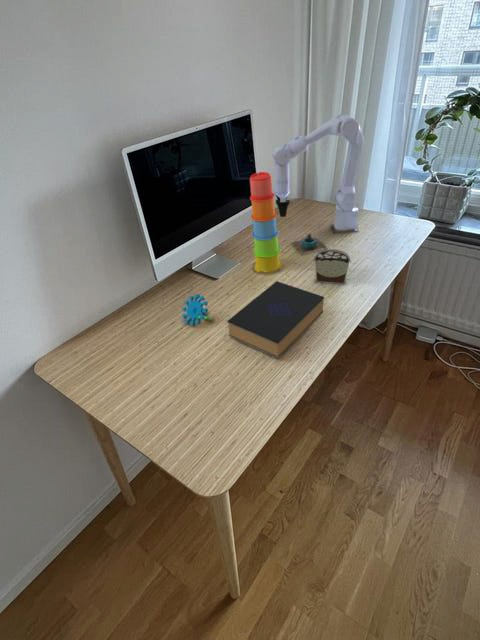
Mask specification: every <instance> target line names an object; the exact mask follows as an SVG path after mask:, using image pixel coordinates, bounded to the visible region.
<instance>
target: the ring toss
mask: <svg viewBox="0 0 480 640" xmlns="http://www.w3.org/2000/svg"><path fill="white" fill-rule="evenodd" d="M306 235H307V236H306V237H307V242H311V237H312V234H311V233H308V234H306ZM313 238H316V237H313ZM316 240H317V246H315V247H313V248H305V247H302V239H301V240H296V241H293V242H292V243H293V245H295V246H296V247H297V248H298V249H299V250H300V251H301V252H302V253H303V254H304V253H309V252H312V251H317V250H321V249H325V248H327V247H326V245H324V244H323V243H322V242H321V241H319V240H318V239H317V238H316Z"/></svg>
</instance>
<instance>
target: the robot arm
mask: <svg viewBox="0 0 480 640" xmlns="http://www.w3.org/2000/svg"><path fill="white" fill-rule="evenodd" d="M329 135H330V136H339V135H341V136H342V137H344V138H345V140H346V141H347V142H348V145H347V151H346V155H345V162H344V168H343V174H342V178H341V182H340V183H341V184H340V185H339V186H338V189H337V192H336V193H335V195H334V201H335V203H336V205H335V208H334V209H335V210H334V221H333V222H334V224H333V228H334V229H335V230H337V231H351V230H353V231H354V232H358V225H359V224H358V223H359V209H358V207H356V204H357V202H356V190H355V184H356V179H357V176H358V175H357V174H358V169H359V166H360V160H361V155H362V152H363V151H362V150H363V146H364V139H365V137H364V135H363V132H362V129H361V124H360V123H359V122H358V121H357V120H356V119H355V118H354V117H351V116H350V115H349V114H347V113H341V114H339V115H337V116H335V117H332V118H331V119H330V120H328V121H327V122H324V124H322V125H321V126H319V127H317V128H316V129H315V130H313V131H311V132H310V133H309V134H307V135H305V136H304V135H299V136H298V135H296V136H294V137H293V138H294V139H292V140H290V141H288V142H287V143H283V144H282V146H281V145H280V146H277V147H276V148H275V149H274V151H273V154H272V157H273V159H274V190H272V192H273V193H274V196H275V197H276V199H275V204H276V206H277V208H278V212H279V216H280V218H286V217H287V211H288V207H289V205H290V203H291V200H290V199H287V198H288V196H289V195H290V193H291V190H290V162H291V160H292V159H294V158H296V157H298V156H299V155H301V154H303V153H305V152H307V151H308V149H309V146H310V145H312V144H314V143H315V142H318V141H320V140H321V139H323V138H326V137H327V136H329Z"/></svg>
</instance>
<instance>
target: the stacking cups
mask: <svg viewBox="0 0 480 640" xmlns="http://www.w3.org/2000/svg"><path fill="white" fill-rule="evenodd" d="M249 186H250V196H249V199H250V202H251V212H252V214H251V216H250V217H251V220H252V227H253V231H252V235H251V236H252V237H253V243H254V248H253V251H252V253H253V254H254V256H255V258H254V259H255V264H254V265H253V268H254V270H255V272H257V273H259V274H261V275H271V274H275V273H276V272H275V271H276V270H280V269H281V268H282V263H281V261H280V252H281V247H280V246H279V240H278V238H279V237H278V235H279V230H278V229H277V219H276V217H277V212H276V210H275V194H274V193H273V192H272V191H273V182H272V175H271V174H270V172H267V171H258V172H254V173H252V174H251V175H250V178H249Z"/></svg>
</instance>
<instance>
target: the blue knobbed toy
mask: <svg viewBox="0 0 480 640" xmlns="http://www.w3.org/2000/svg"><path fill="white" fill-rule="evenodd" d="M188 299H189V300H187V299H186V300H185V301H184V305H185V306H183V307H182V308H181V311H182V312H186V314H185V313H182V315H181V316H182V318H183V319H184V323H185V324H187V325H191V326H193V327H194V326H195V324H196V325H200V324H201V320H202V321H204V322H213V319H212V318H210V317H209V316H208V315H207V313H208V311H209V309H208V308H206V307H207V306H208V305H209V304H208V303H209V302H208V301H207V300H205V299H206V298H205V296H204V295H200V294H197V293H195V295H190V296H189V297H188ZM202 301H203V302H202ZM203 306H206V307H203ZM187 318H188V319H187Z"/></svg>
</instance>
